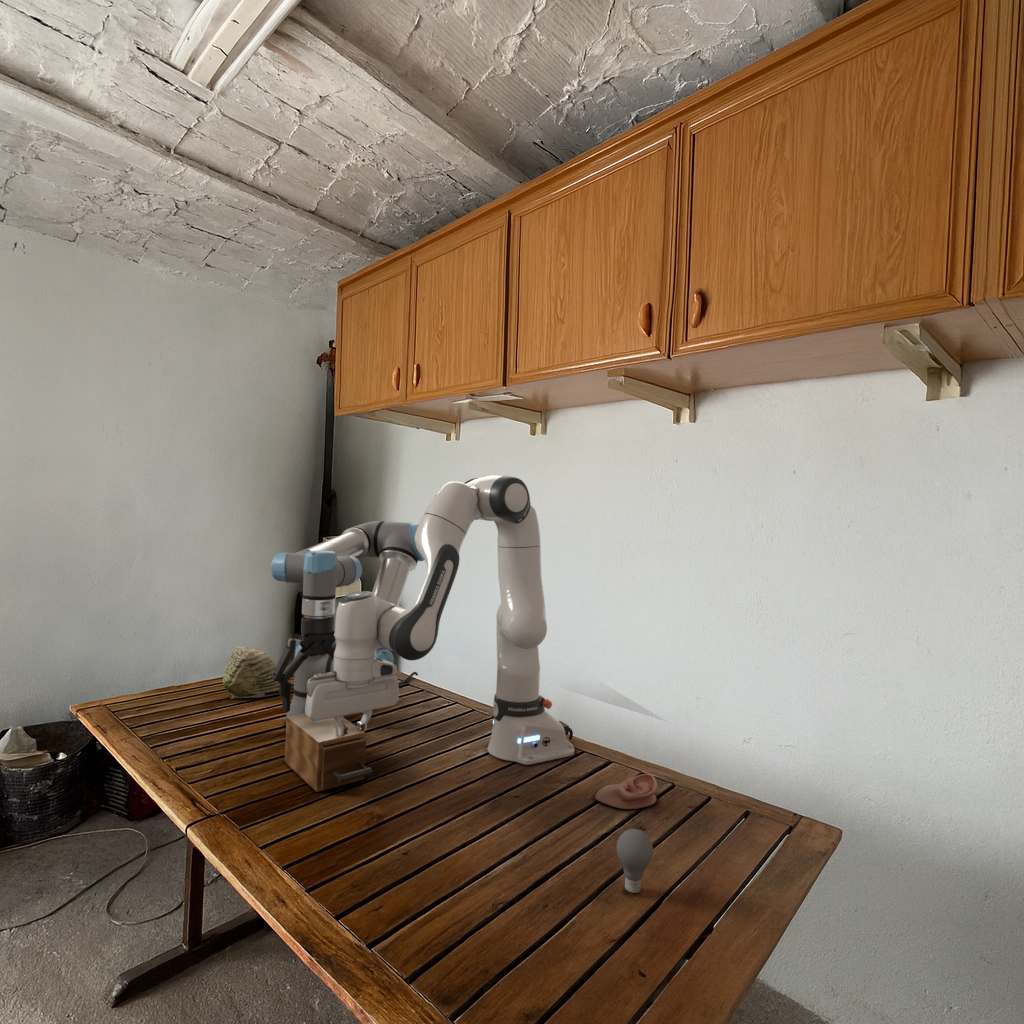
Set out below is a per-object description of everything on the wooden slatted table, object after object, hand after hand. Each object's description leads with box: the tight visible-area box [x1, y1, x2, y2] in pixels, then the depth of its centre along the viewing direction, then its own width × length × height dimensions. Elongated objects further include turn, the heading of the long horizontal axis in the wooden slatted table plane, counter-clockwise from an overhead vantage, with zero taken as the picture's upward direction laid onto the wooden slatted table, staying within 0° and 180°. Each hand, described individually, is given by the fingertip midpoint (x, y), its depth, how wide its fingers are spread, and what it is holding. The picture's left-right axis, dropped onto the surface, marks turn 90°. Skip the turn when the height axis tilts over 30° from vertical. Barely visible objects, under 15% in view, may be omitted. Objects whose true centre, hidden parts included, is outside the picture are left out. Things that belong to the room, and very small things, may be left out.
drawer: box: [321, 738, 373, 791], centre depth 142 cm, size 23×10×9 cm, turn 40°
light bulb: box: [615, 828, 654, 894], centre depth 106 cm, size 6×6×10 cm
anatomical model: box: [594, 773, 658, 810], centre depth 139 cm, size 13×4×12 cm
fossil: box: [222, 646, 279, 699], centre depth 198 cm, size 9×18×15 cm, turn 132°
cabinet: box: [284, 713, 366, 793], centre depth 146 cm, size 19×11×11 cm, turn 40°
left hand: (314, 705), depth 150 cm, fingers open, 13 cm apart
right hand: (352, 732), depth 135 cm, fingers open, 3 cm apart
